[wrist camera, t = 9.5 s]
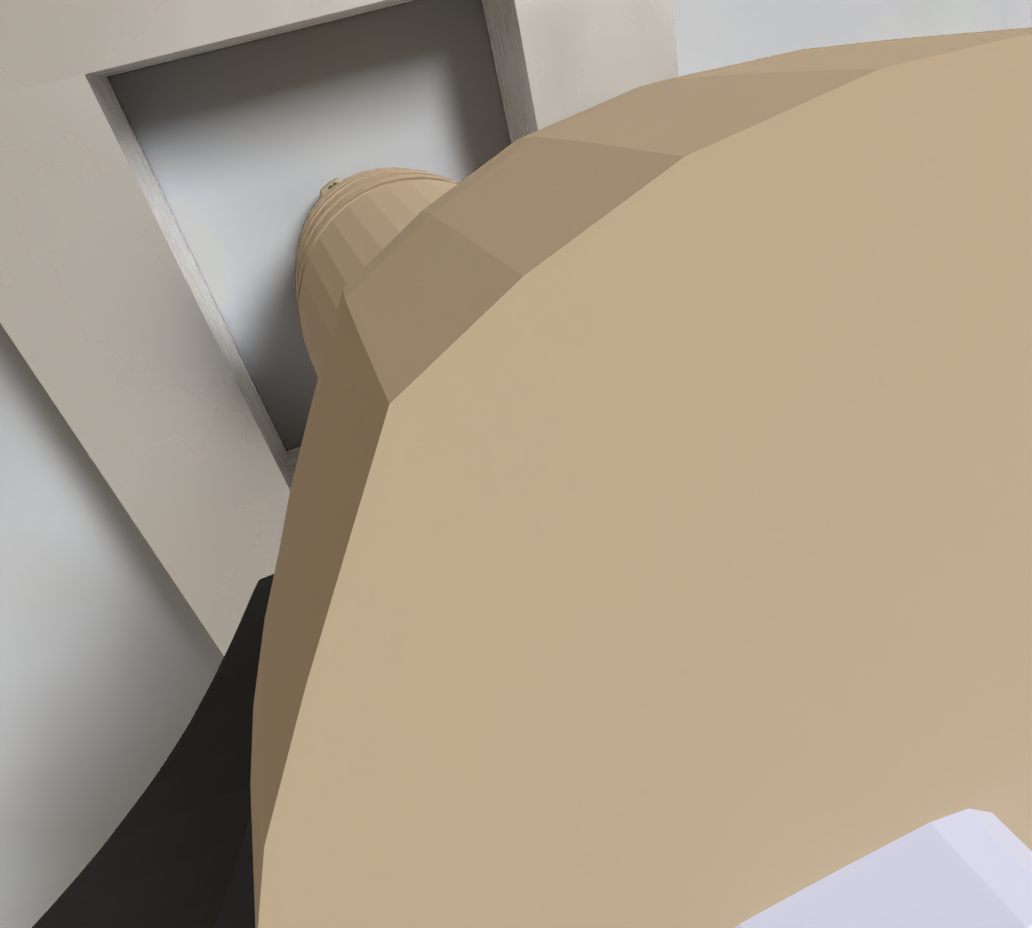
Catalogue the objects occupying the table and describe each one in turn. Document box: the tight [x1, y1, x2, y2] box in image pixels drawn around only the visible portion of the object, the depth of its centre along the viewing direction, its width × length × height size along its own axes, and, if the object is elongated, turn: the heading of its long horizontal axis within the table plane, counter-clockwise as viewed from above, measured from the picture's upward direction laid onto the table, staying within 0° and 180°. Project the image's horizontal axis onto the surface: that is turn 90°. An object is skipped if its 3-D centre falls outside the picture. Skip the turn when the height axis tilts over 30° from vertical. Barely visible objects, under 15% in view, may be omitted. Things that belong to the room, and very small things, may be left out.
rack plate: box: [0, 0, 678, 656], centre depth 15 cm, size 20×14×2 cm
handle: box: [250, 28, 1032, 928], centre depth 9 cm, size 5×6×15 cm
